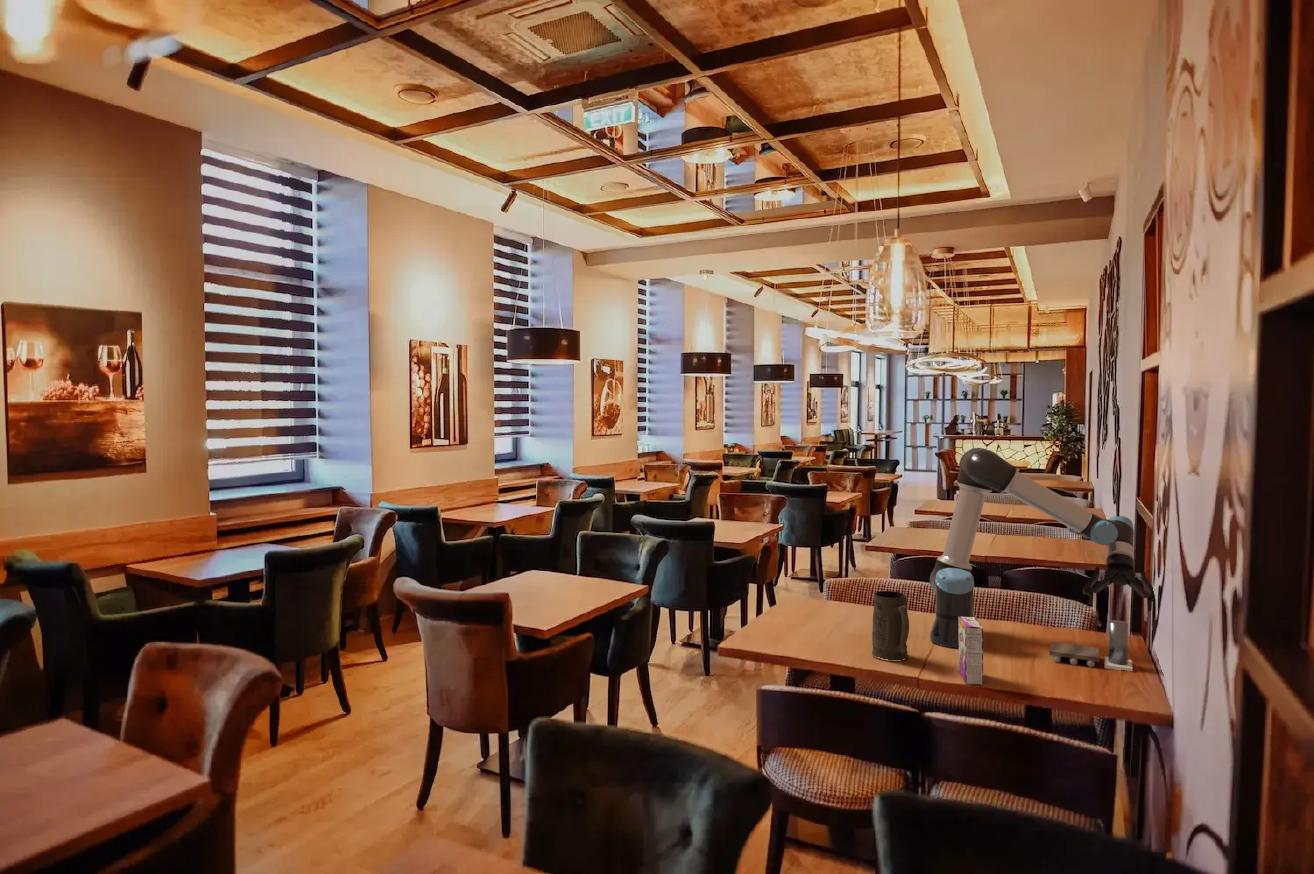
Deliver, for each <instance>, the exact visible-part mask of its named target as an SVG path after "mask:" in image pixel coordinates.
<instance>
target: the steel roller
mask: <svg viewBox="0 0 1314 874" xmlns="http://www.w3.org/2000/svg"><path fill="white" fill-rule="evenodd" d="M1107 636H1108V641H1107V642H1108V643H1107V644H1108V647H1107V649H1108V651H1107V653H1108V654H1107V655H1108V656H1107V657H1108V662H1110V663H1112V664H1117V665H1127V664H1128V660H1129V623H1128V622H1127V621H1124V620H1117V619H1115V620H1113V619H1111V620H1108V634H1107Z"/></svg>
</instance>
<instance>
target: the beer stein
mask: <svg viewBox="0 0 1314 874" xmlns="http://www.w3.org/2000/svg"><path fill="white" fill-rule="evenodd" d="M907 600H908V599H907V595H906V594H904V593H902V592H899V591H894V590H893V591H892V590H880V591H877V592H876V591H875V592H874V595H873V612H872V632H871V633H872V634H871V635H872V638H871V640H872V651H871V655H872V654H873V655H874V656H876V657H880V658H883V659H888V660H902V659H905V658H907V657H908V658H909V655H908V644H907V642H908V639H909V632H910V620H909V614H908V605H907V602H908V601H907ZM873 655H872V656H873ZM874 656H873V657H874ZM908 658H907V659H908Z"/></svg>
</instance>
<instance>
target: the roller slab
mask: <svg viewBox="0 0 1314 874" xmlns="http://www.w3.org/2000/svg"><path fill="white" fill-rule="evenodd" d="M1050 643H1051V644H1050V647H1049V651H1048V653H1049V656H1053V657H1052V660H1053V662H1054V663H1056V664H1057V663H1060V662H1061V660H1062V658H1068V659H1069V663H1070V664H1071V665H1073V666H1076V665H1077V664H1078V660H1084V661H1086V665H1087V666H1088V667H1089V668H1094V667H1095V665H1096V662H1100V647H1097V646H1096V647H1095V646H1085V645H1080V644H1079V645H1078V644H1072V643H1064V642H1055V641H1051V642H1050Z"/></svg>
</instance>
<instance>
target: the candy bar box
mask: <svg viewBox="0 0 1314 874" xmlns="http://www.w3.org/2000/svg"><path fill="white" fill-rule="evenodd" d="M958 626H959V648H958V672H959V673H960V675H961V677H962V679H963V682H964V683H965V684H966V685H973V686H976V685H977V686H984V627H983V626H982V625H981V623H980V622H979V620H978V619H977V618H976V617H975V616H973V617H958Z"/></svg>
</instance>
